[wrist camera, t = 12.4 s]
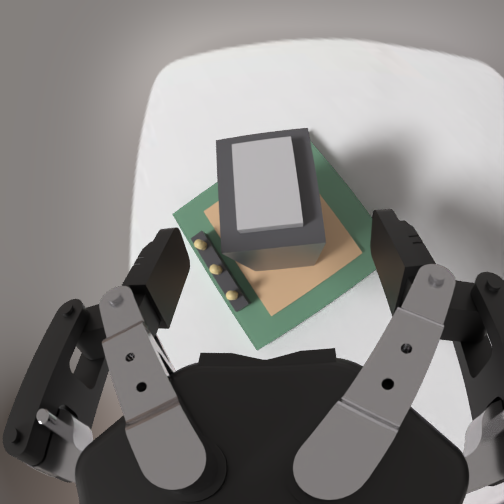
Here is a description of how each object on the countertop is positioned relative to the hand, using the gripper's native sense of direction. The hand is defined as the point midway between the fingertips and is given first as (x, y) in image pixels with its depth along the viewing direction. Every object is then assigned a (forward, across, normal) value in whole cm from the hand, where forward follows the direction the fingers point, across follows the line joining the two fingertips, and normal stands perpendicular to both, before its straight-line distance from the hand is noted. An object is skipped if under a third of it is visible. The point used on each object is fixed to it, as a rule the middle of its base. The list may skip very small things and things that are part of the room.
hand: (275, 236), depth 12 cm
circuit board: (+8, 0, +6) cm, 10 cm away
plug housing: (+7, 0, +4) cm, 8 cm away
